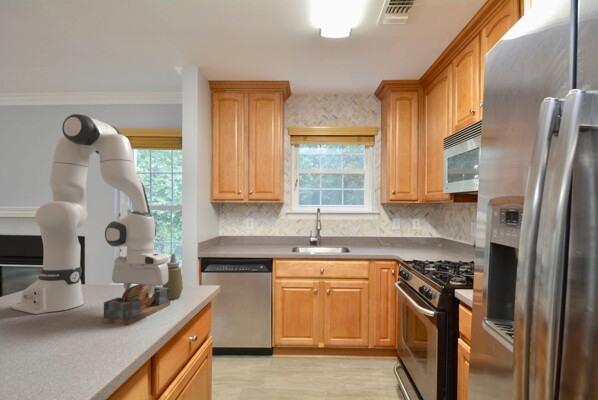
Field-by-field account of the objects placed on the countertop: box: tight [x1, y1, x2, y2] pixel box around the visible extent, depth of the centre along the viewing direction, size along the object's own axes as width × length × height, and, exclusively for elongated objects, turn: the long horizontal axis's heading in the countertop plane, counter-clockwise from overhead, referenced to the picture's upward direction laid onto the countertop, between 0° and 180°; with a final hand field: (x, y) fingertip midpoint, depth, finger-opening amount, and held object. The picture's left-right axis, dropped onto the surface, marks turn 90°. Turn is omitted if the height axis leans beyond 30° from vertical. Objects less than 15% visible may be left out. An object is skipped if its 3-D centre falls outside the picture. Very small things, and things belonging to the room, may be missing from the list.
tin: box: [121, 284, 156, 309], centre depth 111 cm, size 15×3×8 cm, turn 169°
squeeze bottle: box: [162, 253, 184, 300], centre depth 130 cm, size 8×8×18 cm
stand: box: [100, 286, 171, 326], centre depth 110 cm, size 10×22×6 cm, turn 169°
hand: (139, 296), depth 111 cm, fingers open, 6 cm apart
